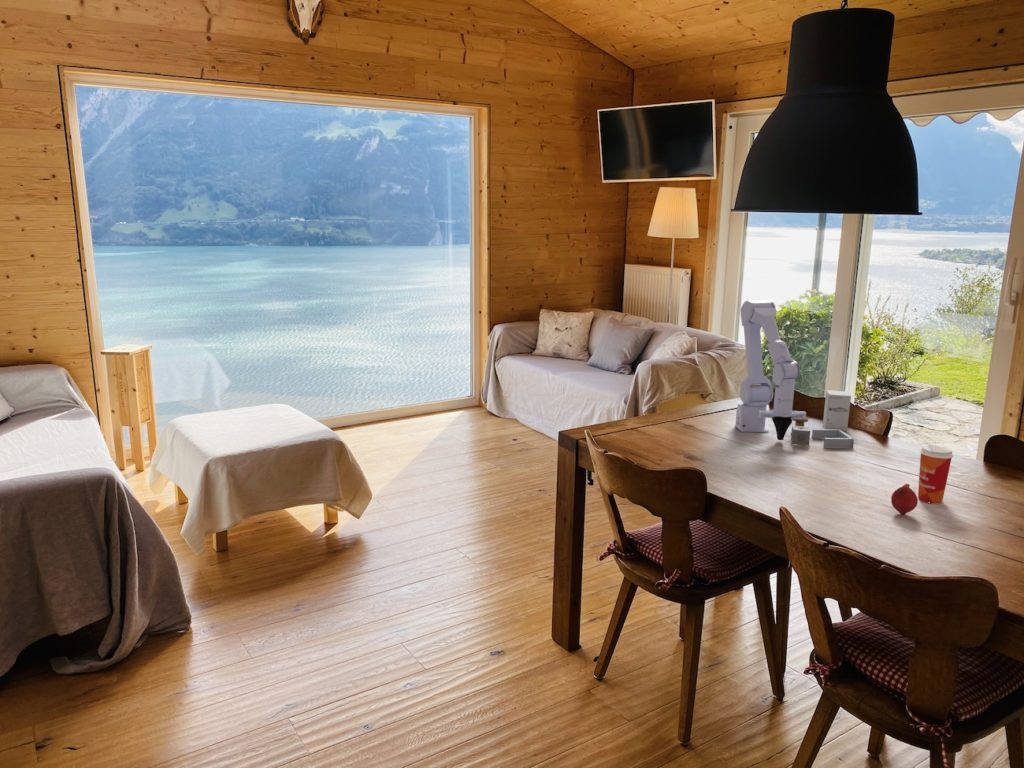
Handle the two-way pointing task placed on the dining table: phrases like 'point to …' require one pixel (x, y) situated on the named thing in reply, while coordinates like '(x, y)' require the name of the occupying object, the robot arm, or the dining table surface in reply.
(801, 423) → the bobbin
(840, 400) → the supplement box
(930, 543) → the dining table surface
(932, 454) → the paper cup
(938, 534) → the dining table surface
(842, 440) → the notch block
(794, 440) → the dice cube
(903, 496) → the onion
